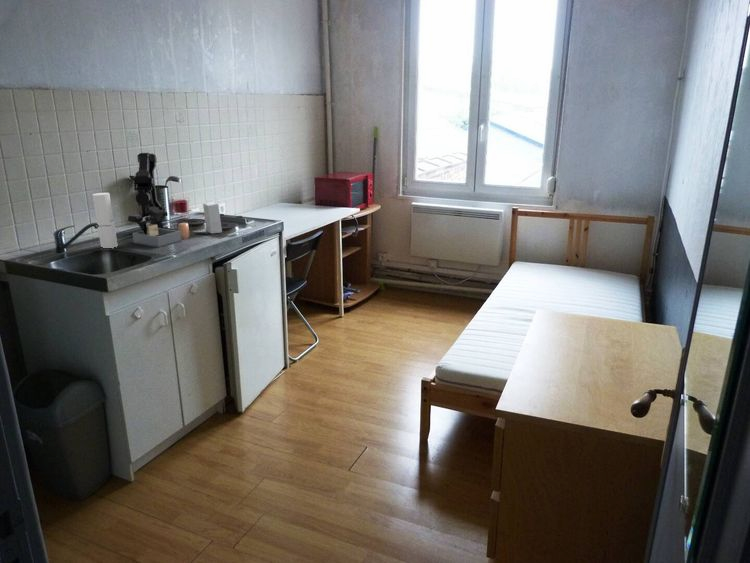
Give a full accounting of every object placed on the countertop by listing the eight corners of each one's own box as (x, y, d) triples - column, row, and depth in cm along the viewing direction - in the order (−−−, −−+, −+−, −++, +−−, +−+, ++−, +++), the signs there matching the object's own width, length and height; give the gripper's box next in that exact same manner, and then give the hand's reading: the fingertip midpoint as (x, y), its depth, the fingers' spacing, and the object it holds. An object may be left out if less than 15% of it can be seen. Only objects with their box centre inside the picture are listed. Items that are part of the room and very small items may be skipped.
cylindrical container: (121, 245, 268) (112, 193, 260) (109, 249, 261) (101, 195, 253) (109, 244, 270) (100, 192, 262) (97, 248, 263) (88, 194, 256)
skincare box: (222, 232, 291) (219, 204, 287) (210, 234, 288) (207, 205, 284) (216, 229, 298) (214, 201, 294) (205, 231, 295) (202, 202, 290)
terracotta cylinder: (177, 238, 281) (175, 224, 279) (184, 236, 285) (183, 222, 283) (184, 239, 279) (182, 225, 277) (191, 237, 283) (190, 223, 281)
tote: (133, 243, 272) (132, 233, 270) (156, 237, 283) (155, 227, 281) (158, 247, 263) (157, 237, 262) (181, 241, 275) (180, 231, 273)
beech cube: (143, 235, 274) (141, 225, 272) (151, 233, 278) (150, 223, 276) (150, 236, 271) (148, 226, 270) (158, 234, 275) (157, 224, 274)
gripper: (140, 205, 258) (145, 239, 263) (173, 199, 273) (177, 231, 278) (124, 203, 263) (129, 236, 268) (157, 197, 278) (161, 228, 283)
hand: (150, 233), depth 274 cm, fingers closed on beech cube, 5 cm apart
